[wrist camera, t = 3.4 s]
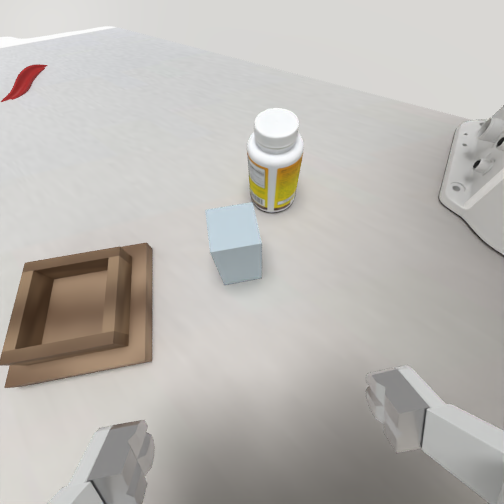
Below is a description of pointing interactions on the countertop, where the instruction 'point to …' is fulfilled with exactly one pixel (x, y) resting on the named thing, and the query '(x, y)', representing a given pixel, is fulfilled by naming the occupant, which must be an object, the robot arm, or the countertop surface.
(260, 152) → the supplement bottle
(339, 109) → the countertop surface
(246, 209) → the block
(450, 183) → the robot arm
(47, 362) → the board
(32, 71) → the cayenne pepper
